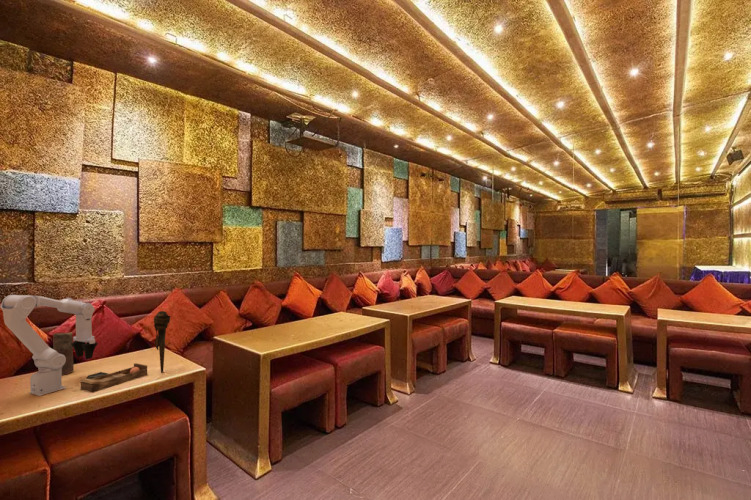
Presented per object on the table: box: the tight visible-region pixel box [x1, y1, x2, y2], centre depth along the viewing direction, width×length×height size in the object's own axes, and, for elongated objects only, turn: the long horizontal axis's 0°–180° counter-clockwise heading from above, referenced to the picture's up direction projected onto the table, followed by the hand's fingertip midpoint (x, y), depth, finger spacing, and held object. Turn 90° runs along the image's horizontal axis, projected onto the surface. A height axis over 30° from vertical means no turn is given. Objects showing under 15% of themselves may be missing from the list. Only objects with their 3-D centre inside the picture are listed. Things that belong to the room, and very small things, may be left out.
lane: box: [79, 362, 148, 393], centre depth 162 cm, size 23×9×4 cm, turn 155°
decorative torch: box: [153, 310, 171, 374], centre depth 174 cm, size 7×7×30 cm
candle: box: [52, 331, 75, 376], centre depth 174 cm, size 8×7×20 cm
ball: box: [130, 366, 140, 373], centre depth 170 cm, size 4×4×4 cm
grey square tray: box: [86, 371, 109, 379], centre depth 164 cm, size 6×6×3 cm
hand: (84, 357), depth 166 cm, fingers open, 7 cm apart
